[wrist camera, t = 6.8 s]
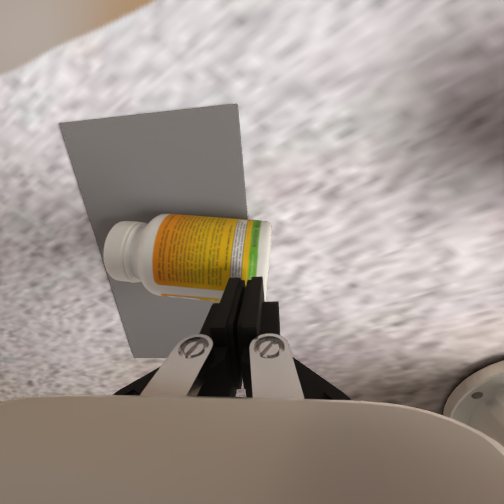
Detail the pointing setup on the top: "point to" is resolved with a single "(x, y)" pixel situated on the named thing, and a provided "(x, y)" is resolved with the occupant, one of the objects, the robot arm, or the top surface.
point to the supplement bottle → (188, 254)
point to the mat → (158, 198)
